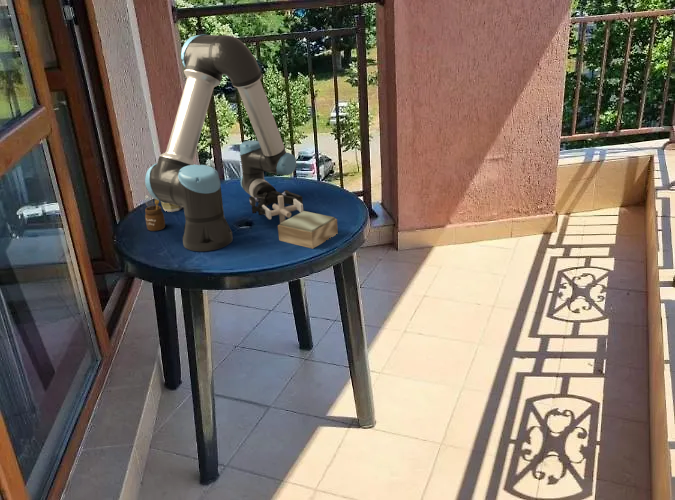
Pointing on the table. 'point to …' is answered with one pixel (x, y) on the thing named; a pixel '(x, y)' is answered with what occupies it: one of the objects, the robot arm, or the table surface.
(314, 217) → the lidded wooden box
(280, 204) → the pipe connector
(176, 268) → the table surface
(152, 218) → the utensil holder
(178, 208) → the ceramic cup
